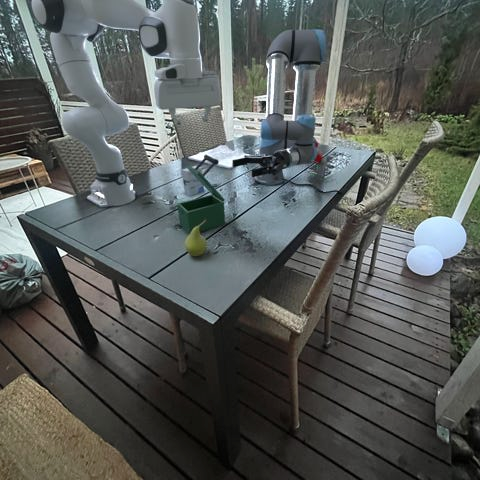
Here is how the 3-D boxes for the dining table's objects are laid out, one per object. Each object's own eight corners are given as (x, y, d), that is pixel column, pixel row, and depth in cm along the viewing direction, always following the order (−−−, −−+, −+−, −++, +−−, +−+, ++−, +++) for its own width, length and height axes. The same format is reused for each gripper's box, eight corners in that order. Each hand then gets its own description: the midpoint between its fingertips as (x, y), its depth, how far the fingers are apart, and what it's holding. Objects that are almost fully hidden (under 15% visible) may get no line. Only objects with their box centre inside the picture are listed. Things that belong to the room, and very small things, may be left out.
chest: (190, 235, 98) (187, 212, 94) (180, 224, 105) (176, 203, 100) (225, 223, 105) (224, 202, 100) (213, 214, 112) (212, 194, 107)
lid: (197, 174, 89) (214, 155, 89) (185, 166, 96) (202, 149, 96) (223, 202, 100) (238, 184, 100) (211, 193, 107) (225, 177, 107)
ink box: (198, 188, 136) (196, 165, 129) (204, 191, 133) (202, 167, 126) (184, 193, 131) (181, 169, 124) (190, 196, 128) (187, 171, 121)
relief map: (229, 168, 161) (229, 160, 158) (188, 158, 179) (187, 150, 176) (255, 158, 179) (255, 150, 177) (215, 150, 197) (215, 142, 194)
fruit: (184, 250, 90) (179, 218, 83) (206, 245, 92) (203, 214, 86) (188, 261, 85) (184, 228, 78) (211, 256, 87) (209, 223, 80)
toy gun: (326, 157, 168) (314, 136, 164) (326, 159, 164) (313, 137, 160) (301, 172, 178) (289, 153, 174) (300, 174, 174) (287, 154, 170)
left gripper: (213, 70, 84) (216, 118, 92) (148, 71, 75) (157, 125, 83) (223, 70, 80) (225, 121, 87) (155, 72, 71) (164, 128, 78)
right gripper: (267, 143, 119) (225, 150, 110) (307, 157, 102) (262, 167, 92) (266, 160, 123) (226, 168, 114) (305, 176, 106) (261, 188, 96)
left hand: (191, 123), depth 85 cm, fingers open, 8 cm apart
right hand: (242, 168), depth 103 cm, fingers open, 13 cm apart
